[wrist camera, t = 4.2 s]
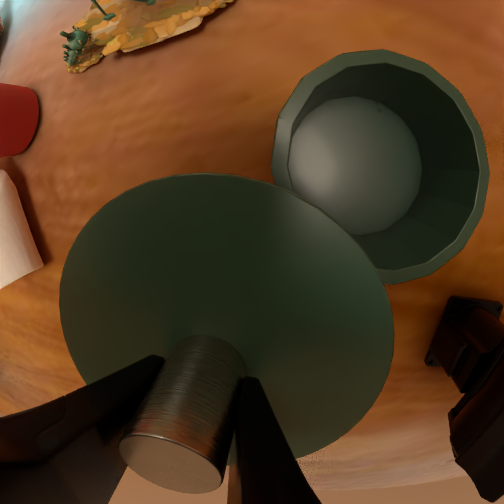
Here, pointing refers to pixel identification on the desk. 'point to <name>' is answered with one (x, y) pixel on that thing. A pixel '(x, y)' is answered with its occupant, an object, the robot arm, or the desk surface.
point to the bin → (386, 158)
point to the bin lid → (225, 318)
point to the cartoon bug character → (131, 26)
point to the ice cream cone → (1, 26)
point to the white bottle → (14, 236)
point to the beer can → (17, 118)
